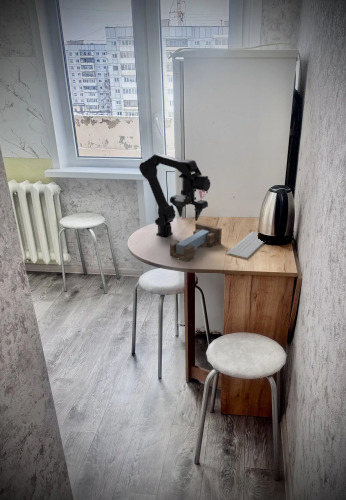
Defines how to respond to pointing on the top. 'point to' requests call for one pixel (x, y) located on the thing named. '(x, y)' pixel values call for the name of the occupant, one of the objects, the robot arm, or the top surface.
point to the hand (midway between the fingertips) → (188, 218)
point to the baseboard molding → (246, 246)
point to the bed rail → (192, 241)
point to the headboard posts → (211, 240)
